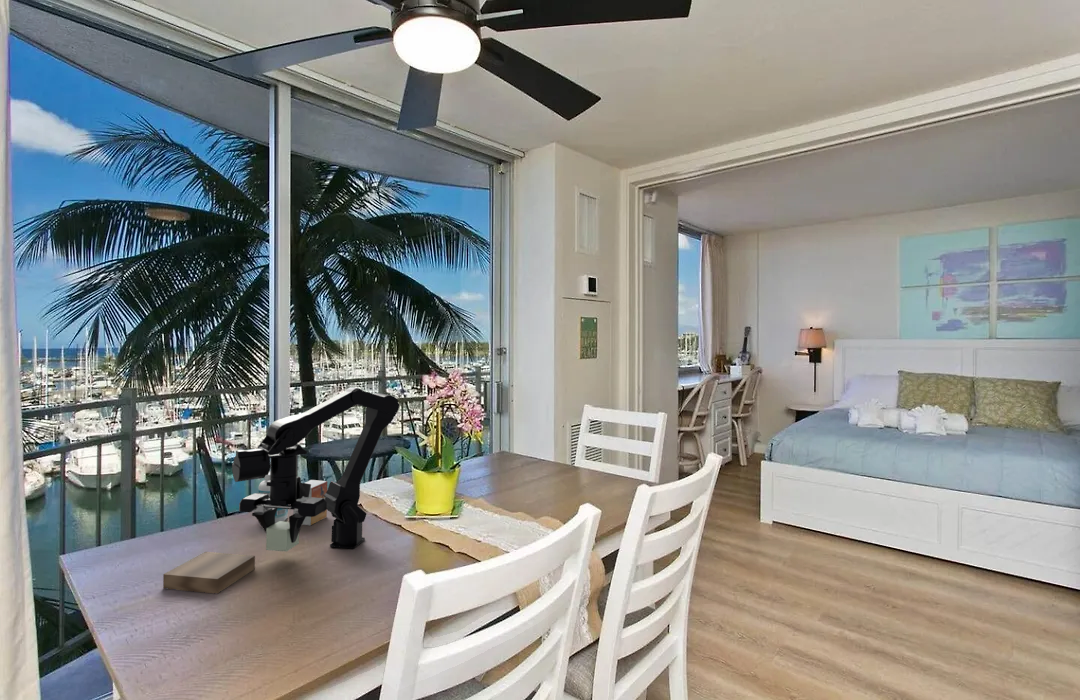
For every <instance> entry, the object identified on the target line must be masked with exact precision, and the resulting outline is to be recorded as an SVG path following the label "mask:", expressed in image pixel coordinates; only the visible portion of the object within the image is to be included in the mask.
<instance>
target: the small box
mask: <svg viewBox="0 0 1080 700" xmlns="http://www.w3.org/2000/svg"><path fill="white" fill-rule="evenodd" d="M304 483H306V484H311V488H310V493H309V497H304V496H303V498H301V499H297V501H302V502H303V501H304V500H306V499H308V498H310V497H314V498H324V499H325V497H324V495H325V493H326V492H327V490H328V481H326V480H316V479H309V480H308V481H306V482H304ZM292 510H293V509H292ZM327 512H328V510H327V509H326V510H325V511H323V512H322V513H320V514H318V515H317V516H314V517H306V518H305V520H304V521H303V523H302V526H312V525H314V524H316V523H318V522H320V521H321V520H324V519H326V518H327V517H328V516H327V514H328V513H327ZM293 514H294V510H293ZM293 514H292V515H293Z"/></svg>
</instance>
